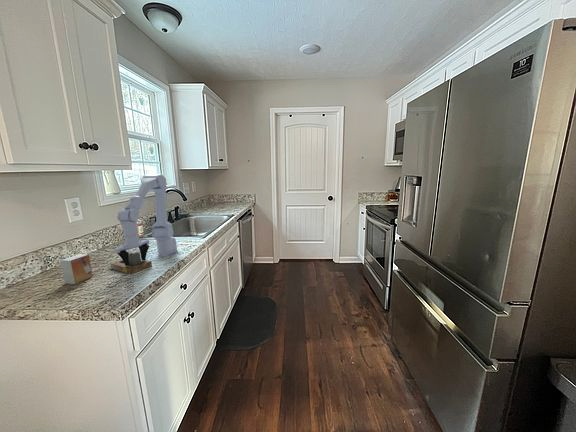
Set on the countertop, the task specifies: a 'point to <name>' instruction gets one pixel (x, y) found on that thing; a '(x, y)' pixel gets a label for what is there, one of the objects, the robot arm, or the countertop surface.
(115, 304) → the countertop surface
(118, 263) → the divided box
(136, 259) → the plug
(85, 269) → the small box
